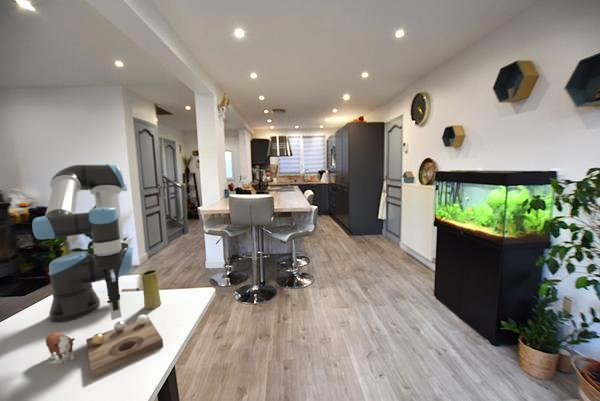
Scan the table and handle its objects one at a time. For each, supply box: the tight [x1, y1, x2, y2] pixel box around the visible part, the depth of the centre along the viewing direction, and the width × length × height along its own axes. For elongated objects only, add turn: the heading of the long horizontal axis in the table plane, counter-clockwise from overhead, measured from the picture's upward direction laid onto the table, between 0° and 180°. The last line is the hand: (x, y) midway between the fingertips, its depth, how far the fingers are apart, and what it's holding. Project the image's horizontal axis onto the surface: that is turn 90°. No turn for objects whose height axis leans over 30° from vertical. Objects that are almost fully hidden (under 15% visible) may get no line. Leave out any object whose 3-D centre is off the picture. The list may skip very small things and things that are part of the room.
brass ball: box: [91, 333, 104, 346], centre depth 75 cm, size 3×3×3 cm
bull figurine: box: [45, 331, 76, 366], centre depth 72 cm, size 4×13×8 cm, turn 58°
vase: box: [141, 269, 162, 310], centre depth 101 cm, size 6×6×14 cm
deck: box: [85, 316, 164, 380], centre depth 77 cm, size 18×17×2 cm
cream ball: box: [135, 314, 148, 325], centre depth 84 cm, size 3×3×3 cm
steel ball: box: [113, 320, 126, 332], centre depth 81 cm, size 3×3×3 cm
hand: (116, 317), depth 87 cm, fingers closed
